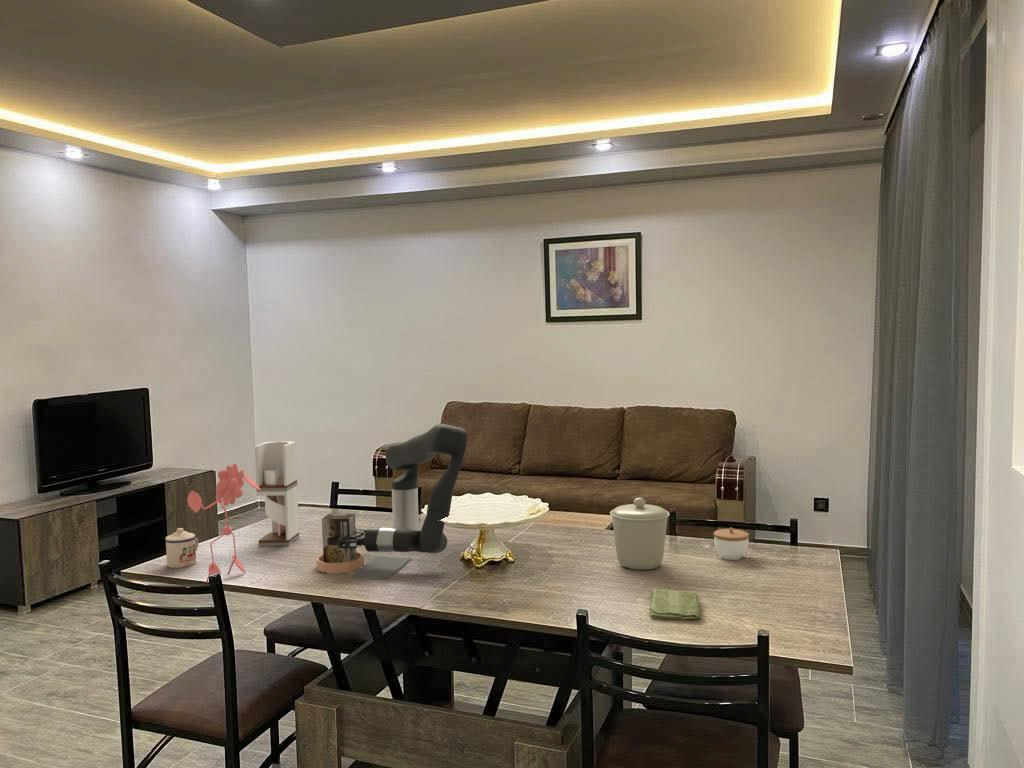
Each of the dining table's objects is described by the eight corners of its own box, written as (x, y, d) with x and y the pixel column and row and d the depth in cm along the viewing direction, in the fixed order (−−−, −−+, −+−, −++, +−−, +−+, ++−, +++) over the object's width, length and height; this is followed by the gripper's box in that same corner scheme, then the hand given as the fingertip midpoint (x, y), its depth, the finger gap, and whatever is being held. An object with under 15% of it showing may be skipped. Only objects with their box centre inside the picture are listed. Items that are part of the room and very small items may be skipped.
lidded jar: (713, 560, 242) (712, 531, 241) (714, 551, 252) (714, 523, 251) (748, 563, 239) (748, 533, 238) (749, 553, 249) (749, 525, 248)
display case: (270, 537, 281) (266, 441, 279) (299, 537, 281) (295, 441, 278) (258, 546, 270) (254, 446, 268) (288, 545, 269) (285, 445, 267)
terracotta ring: (329, 558, 252) (328, 549, 252) (370, 560, 249) (370, 551, 249) (308, 572, 238) (308, 562, 238) (352, 574, 235) (352, 564, 235)
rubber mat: (376, 558, 252) (376, 556, 252) (411, 559, 249) (411, 557, 249) (351, 577, 232) (351, 575, 232) (389, 578, 230) (389, 576, 230)
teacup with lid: (182, 569, 243) (180, 533, 243) (159, 567, 246) (158, 531, 246) (209, 559, 255) (207, 524, 254) (187, 556, 258) (185, 522, 257)
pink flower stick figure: (182, 590, 222) (179, 470, 220) (244, 566, 246) (242, 456, 244) (224, 597, 216) (222, 473, 214) (284, 571, 240) (282, 459, 238)
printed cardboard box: (357, 563, 246) (355, 513, 245) (351, 569, 240) (349, 518, 239) (329, 563, 247) (328, 513, 246) (322, 569, 241) (321, 518, 240)
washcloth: (648, 621, 193) (648, 608, 193) (650, 598, 210) (650, 586, 210) (702, 624, 190) (702, 611, 190) (699, 600, 208) (699, 588, 208)
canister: (678, 562, 241) (678, 495, 240) (655, 578, 226) (655, 506, 225) (625, 554, 251) (625, 489, 250) (600, 568, 236) (599, 500, 235)
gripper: (390, 522, 247) (342, 520, 250) (373, 533, 233) (322, 531, 236) (391, 545, 247) (343, 543, 251) (374, 558, 233) (323, 555, 237)
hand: (333, 537), depth 243 cm, fingers open, 7 cm apart
